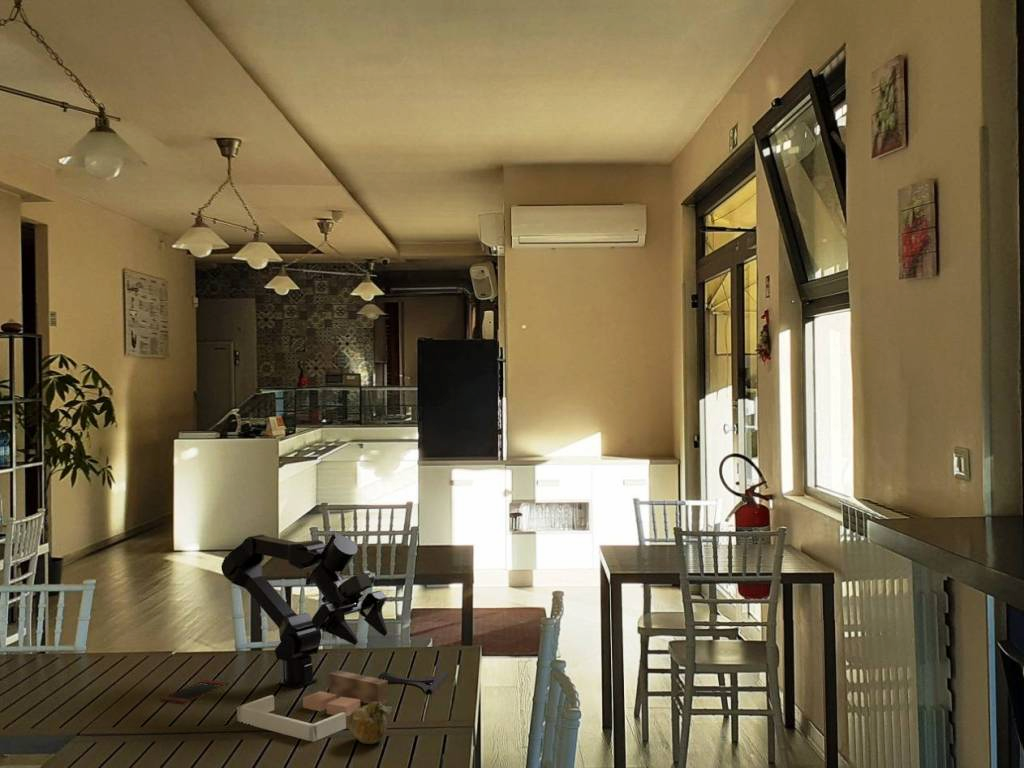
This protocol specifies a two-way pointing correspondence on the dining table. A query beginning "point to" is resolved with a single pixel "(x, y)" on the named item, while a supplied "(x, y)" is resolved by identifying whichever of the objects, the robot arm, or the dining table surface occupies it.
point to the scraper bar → (358, 687)
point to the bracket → (417, 680)
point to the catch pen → (287, 721)
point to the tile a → (318, 700)
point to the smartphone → (193, 691)
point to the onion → (369, 722)
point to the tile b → (343, 706)
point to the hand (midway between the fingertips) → (371, 638)
